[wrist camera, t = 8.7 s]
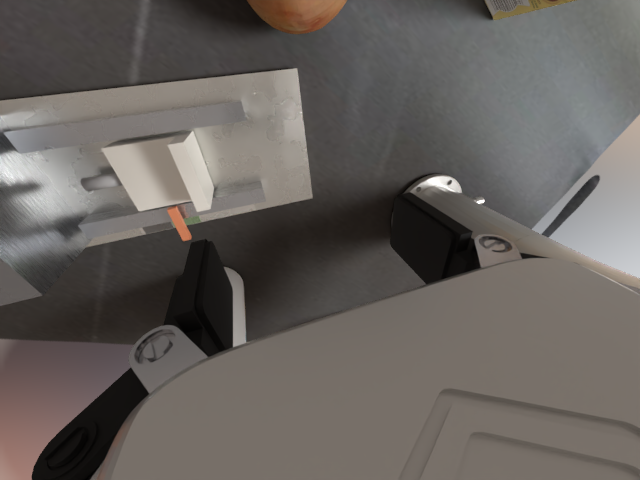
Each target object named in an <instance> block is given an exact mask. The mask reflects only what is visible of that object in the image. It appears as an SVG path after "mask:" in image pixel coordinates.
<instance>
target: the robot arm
mask: <svg viewBox="0 0 640 480" xmlns="http://www.w3.org/2000/svg"><path fill="white" fill-rule="evenodd" d="M483 203H484V199H483V197H481V196H478V197H474V198H470V197H468V196H466V195H464V194H462V190H461V187H460V185H459V183H458V182H457V181H456V180H455V179H454V178H452V177H450V176H448V175H444V174H433V175H428V176H426V177H423V178H421V179H420V180H418V181H416V182H415V183H414V184H412V185H411V186H410V187H409V188H408V189H407V190H406V191H405V192H404V193H403V194H399V195H398V196H397V198H396V199H395V200H394V208H393V214H392V220H391V225H392V228H391V239H390V244H391V247H392V248H393V249H394V250H395V251H396V252H397V254H398V255H399V256H400V257H401V258H402V259H403V260H404V261H405V262H406V263H407V264H408V265H409V266H410V267H411V268H412V269H413V270H414V271H415V273H416V274H417V275H418V276H419V277H420V278H421V279H422V280H423V281H424V282H425V283H426V285H423V286H420V287H417V288H413V289H410V290H407V291H404V292H401V293H398V294H394V295H391V296H388V297H385V298H382V299H379V300H375V301H372V302H369V303H366V304H363V305H360V306H357V307H353V308H350V309H347V310H344V311H341V312H338V313H335V314H332V315H328V316H325V317H322V318H319V319H316V320H313V321H310V322H307V323H304V324H301V325H297V326H294V327H291V328H288V329H285V330H282V331H279V332H276V333H273V334H270V335H267V336H264V337H261V338H258V339H255V340H252V341H249V342H247V343H244V344H241V345H238V346H235V347H233V289H232V285H231V283H230V280H229V278H228V276H227V273H226V271H225V269H224V266H223V264H222V262H221V260H220V257H219V255H218V253H217V250H216V248H215V246H214V244H213V242H212V241H210V242H208V241H207V240H206V239H204V240H199V241H195V242H192V243H191V246H190V250H189V254H188V257H187V261H186V265H185V269H184V273H183V275H182V276H179V277H177V279H176V283H175V286H174V290H173V293H172V297H171V300H170V304H169V307H168V311H167V314H166V318H165V321H164V325H163V326H160V327H158V328H155V329H153V330H151V331H150V332H148V333H146V334H145V335H144V336H143V337H141V338H140V339H139V340H138V341H137V342H136V344H135V345H134V346H133V348H132V350H131V352H130V354H129V359H128V361H129V364H130V366H131V368H130V369H129V370H128V371H126V372H125V373H124V374H123V375H122V376H121V377H120V378H119V379H118V380H117V381H115V382H114V383H113V384H112V385H111V386H110V387H109V388H108V389H106V390H105V391H104V392H103V393H102V394H101V395H100V396H99V397H98V398H97V399H95V400H94V401H93V402H92V403H91V404H90V405H89V406H88V407H87V408H85V409H84V410H83V411H82V412H81V413H80V414H79V415H78V416H77V417H75V418H74V419H73V420H72V421H71V422H70V423H69V424H68V425H67V426H65V427H64V428H63V429H62V430H61V431H60V432H59V433H58V434H57V435H56V436H55V437H54V438H53V439H52V440H51V441H50V442H49V443H48V445H47V446H46V447H45V449H44V450H43V451H42V453H41V454H40V456H39V458H38V460H37V462H36V464H35V466H34V469H33V473H32V480H640V278H637V277H634V276H632V275H630V274H627V273H625V272H622V271H620V270H617V269H615V268H612V267H610V266H607V265H605V264H602V263H600V262H598V261H596V260H594V259H591V258H589V257H587V256H585V255H583V254H581V253H579V252H576V251H574V250H572V249H570V248H568V247H566V246H563V245H562V244H560V243H558V242H556V241H553V240H552V239H550V238H548V237H546V236H544V235H541V234H539V233H537V232H535V231H533V230H531V229H529V228H527V227H525V226H523V225H521V224H519V223H517V222H515V221H513V220H511V219H509V218H507V217H505V216H503V215H501V214H499V213H497V212H495V211H493V210H491V209H489V208H487V207H485V206H483V205H481V204H483Z"/></svg>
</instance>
